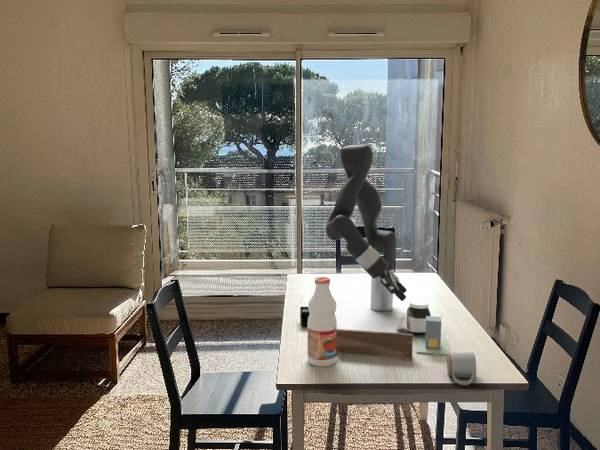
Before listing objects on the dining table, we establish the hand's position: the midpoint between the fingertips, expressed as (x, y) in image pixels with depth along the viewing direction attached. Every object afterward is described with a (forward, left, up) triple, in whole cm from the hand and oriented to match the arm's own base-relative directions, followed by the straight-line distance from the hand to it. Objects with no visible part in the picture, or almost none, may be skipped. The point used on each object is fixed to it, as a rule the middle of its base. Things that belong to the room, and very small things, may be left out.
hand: (404, 295), depth 200 cm
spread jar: (-15, +3, -19) cm, 24 cm away
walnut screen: (+10, -10, -18) cm, 23 cm away
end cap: (-16, -35, -19) cm, 43 cm away
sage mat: (0, +10, -18) cm, 21 cm away
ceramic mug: (+23, +19, -19) cm, 35 cm away
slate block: (0, +10, -18) cm, 20 cm away
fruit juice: (+19, -26, -18) cm, 37 cm away
